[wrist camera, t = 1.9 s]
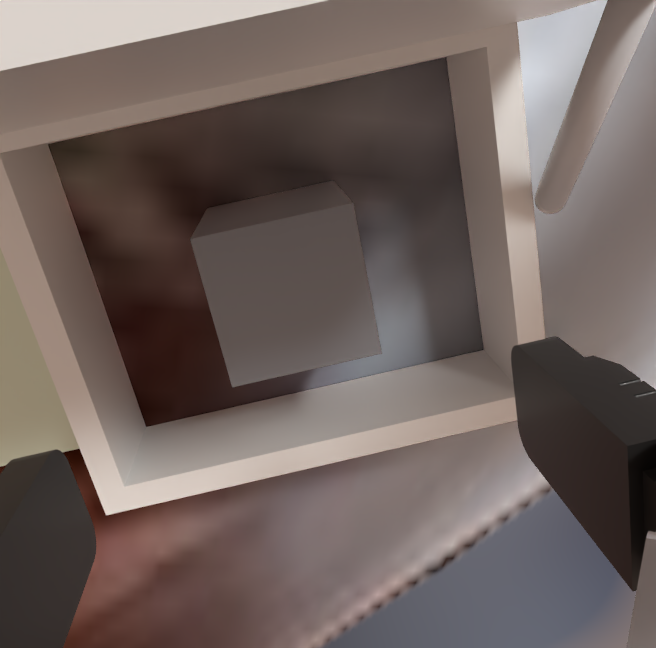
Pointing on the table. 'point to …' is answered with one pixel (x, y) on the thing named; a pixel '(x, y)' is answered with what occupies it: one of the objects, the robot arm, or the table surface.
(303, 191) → the block
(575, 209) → the table surface
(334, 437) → the case
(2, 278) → the mat
